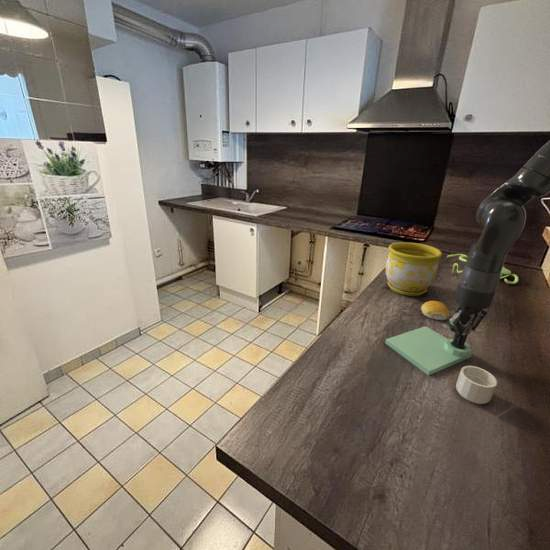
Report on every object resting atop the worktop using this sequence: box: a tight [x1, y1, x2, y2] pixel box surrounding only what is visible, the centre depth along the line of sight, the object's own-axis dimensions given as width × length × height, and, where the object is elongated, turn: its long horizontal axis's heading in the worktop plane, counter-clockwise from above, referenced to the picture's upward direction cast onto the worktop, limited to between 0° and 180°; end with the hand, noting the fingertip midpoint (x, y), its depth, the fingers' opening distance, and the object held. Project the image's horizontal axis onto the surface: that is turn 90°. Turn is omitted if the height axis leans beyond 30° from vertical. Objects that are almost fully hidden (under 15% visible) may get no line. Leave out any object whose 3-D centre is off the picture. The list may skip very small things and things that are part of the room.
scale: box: [384, 325, 473, 376], centre depth 78 cm, size 16×14×3 cm
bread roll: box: [420, 300, 451, 322], centre depth 96 cm, size 8×9×4 cm
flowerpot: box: [385, 241, 443, 297], centre depth 111 cm, size 18×18×16 cm
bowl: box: [455, 365, 498, 405], centre depth 64 cm, size 6×6×5 cm
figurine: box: [446, 253, 520, 285], centre depth 129 cm, size 18×27×6 cm
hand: (458, 344), depth 76 cm, fingers closed
